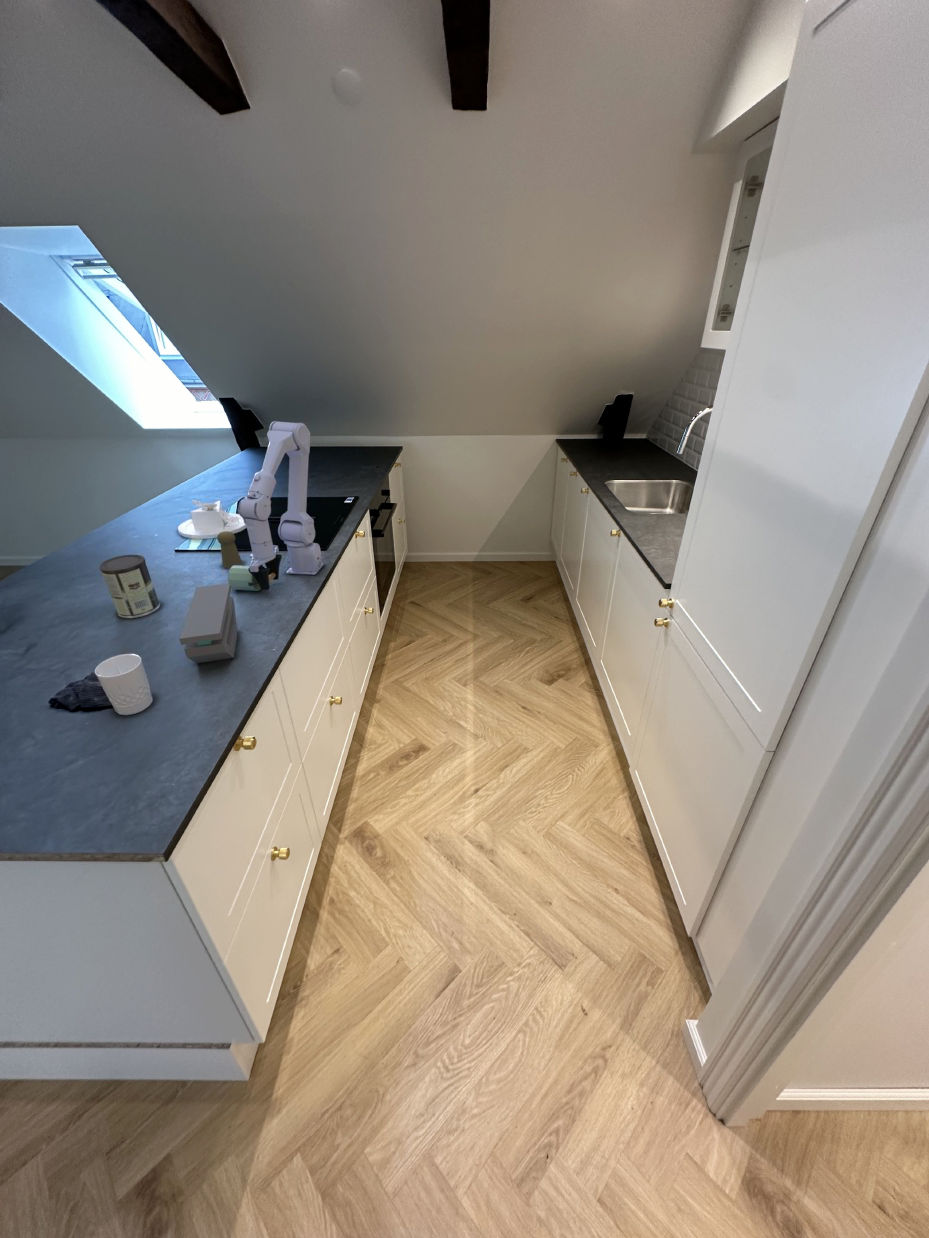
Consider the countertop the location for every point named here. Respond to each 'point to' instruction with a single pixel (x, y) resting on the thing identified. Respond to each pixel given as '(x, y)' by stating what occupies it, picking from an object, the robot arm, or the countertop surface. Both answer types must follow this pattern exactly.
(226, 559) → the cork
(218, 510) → the dish
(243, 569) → the bucket
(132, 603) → the coffee can
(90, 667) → the countertop surface
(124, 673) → the white cup
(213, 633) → the grey box
